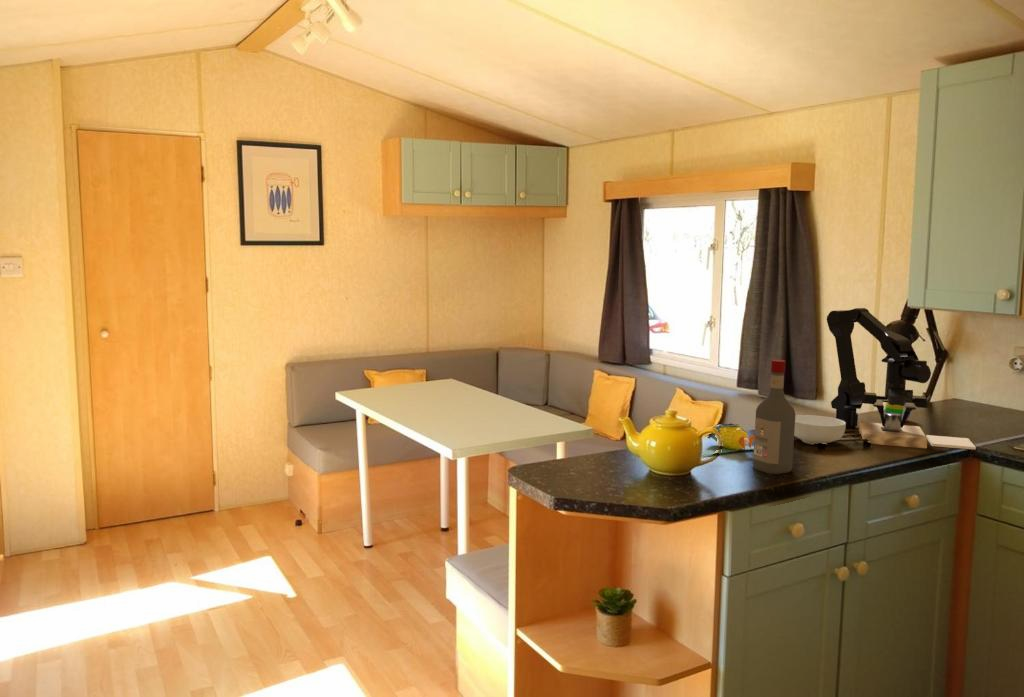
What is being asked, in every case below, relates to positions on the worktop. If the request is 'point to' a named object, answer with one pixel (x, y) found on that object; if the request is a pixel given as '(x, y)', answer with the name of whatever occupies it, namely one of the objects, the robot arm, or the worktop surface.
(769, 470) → the liquor
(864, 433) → the pocket block
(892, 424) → the metal part
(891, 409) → the decorative egg
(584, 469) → the worktop surface
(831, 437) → the cereal bowl
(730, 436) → the colourful shoe
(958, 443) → the ceramic tile
